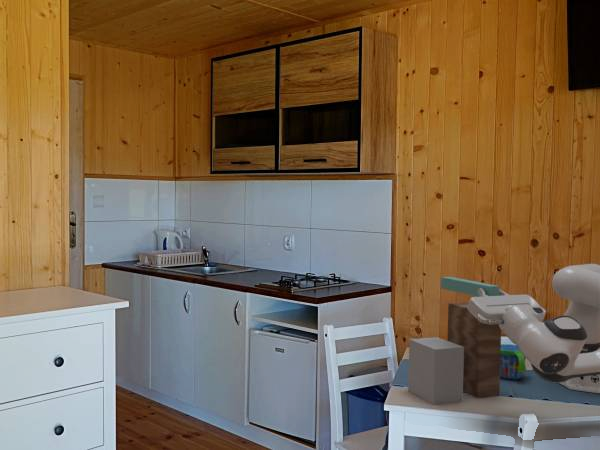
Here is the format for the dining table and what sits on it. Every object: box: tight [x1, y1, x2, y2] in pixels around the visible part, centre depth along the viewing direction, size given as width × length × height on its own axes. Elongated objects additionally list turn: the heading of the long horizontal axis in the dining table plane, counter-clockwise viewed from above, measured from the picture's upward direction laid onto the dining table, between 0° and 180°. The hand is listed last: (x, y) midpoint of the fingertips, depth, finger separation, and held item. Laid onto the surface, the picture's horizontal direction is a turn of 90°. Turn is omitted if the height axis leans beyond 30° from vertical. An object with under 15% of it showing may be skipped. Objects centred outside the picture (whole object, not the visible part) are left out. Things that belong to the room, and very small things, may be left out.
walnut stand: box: [446, 301, 502, 399], centre depth 197 cm, size 16×8×26 cm, turn 21°
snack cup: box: [500, 343, 527, 381], centre depth 212 cm, size 16×10×10 cm
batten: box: [440, 276, 500, 297], centre depth 183 cm, size 22×4×4 cm, turn 23°
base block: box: [407, 336, 464, 405], centre depth 190 cm, size 14×10×16 cm
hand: (487, 289), depth 176 cm, fingers closed on batten, 3 cm apart
